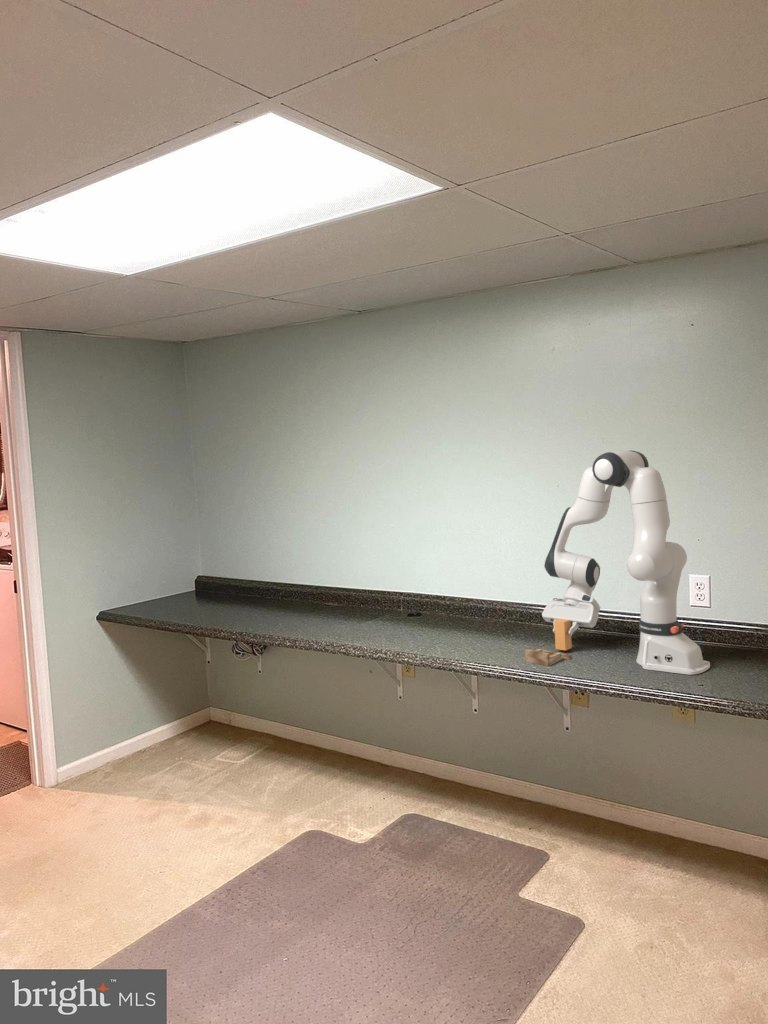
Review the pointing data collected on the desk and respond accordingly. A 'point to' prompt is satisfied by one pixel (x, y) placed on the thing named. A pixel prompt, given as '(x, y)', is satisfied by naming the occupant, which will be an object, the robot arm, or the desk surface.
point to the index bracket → (541, 657)
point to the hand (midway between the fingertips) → (561, 633)
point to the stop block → (562, 634)
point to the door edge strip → (564, 656)
